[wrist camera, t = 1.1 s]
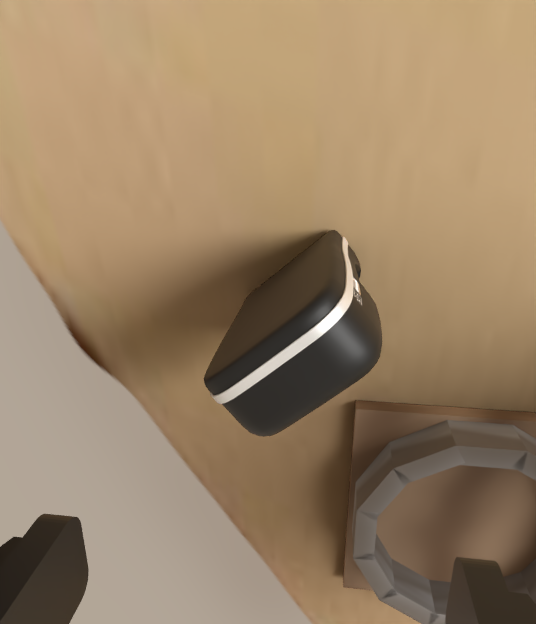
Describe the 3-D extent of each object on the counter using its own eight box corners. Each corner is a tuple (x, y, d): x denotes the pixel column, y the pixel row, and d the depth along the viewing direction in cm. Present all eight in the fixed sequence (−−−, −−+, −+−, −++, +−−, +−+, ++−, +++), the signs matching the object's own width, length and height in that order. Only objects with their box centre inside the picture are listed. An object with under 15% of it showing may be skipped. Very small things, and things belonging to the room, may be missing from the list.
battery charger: (283, 346, 30) (253, 468, 20) (241, 299, 30) (186, 398, 19) (380, 276, 28) (405, 370, 17) (337, 222, 27) (335, 287, 17)
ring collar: (603, 417, 29) (636, 454, 26) (554, 598, 34) (577, 648, 31) (355, 400, 31) (357, 433, 28) (343, 575, 36) (343, 620, 33)
